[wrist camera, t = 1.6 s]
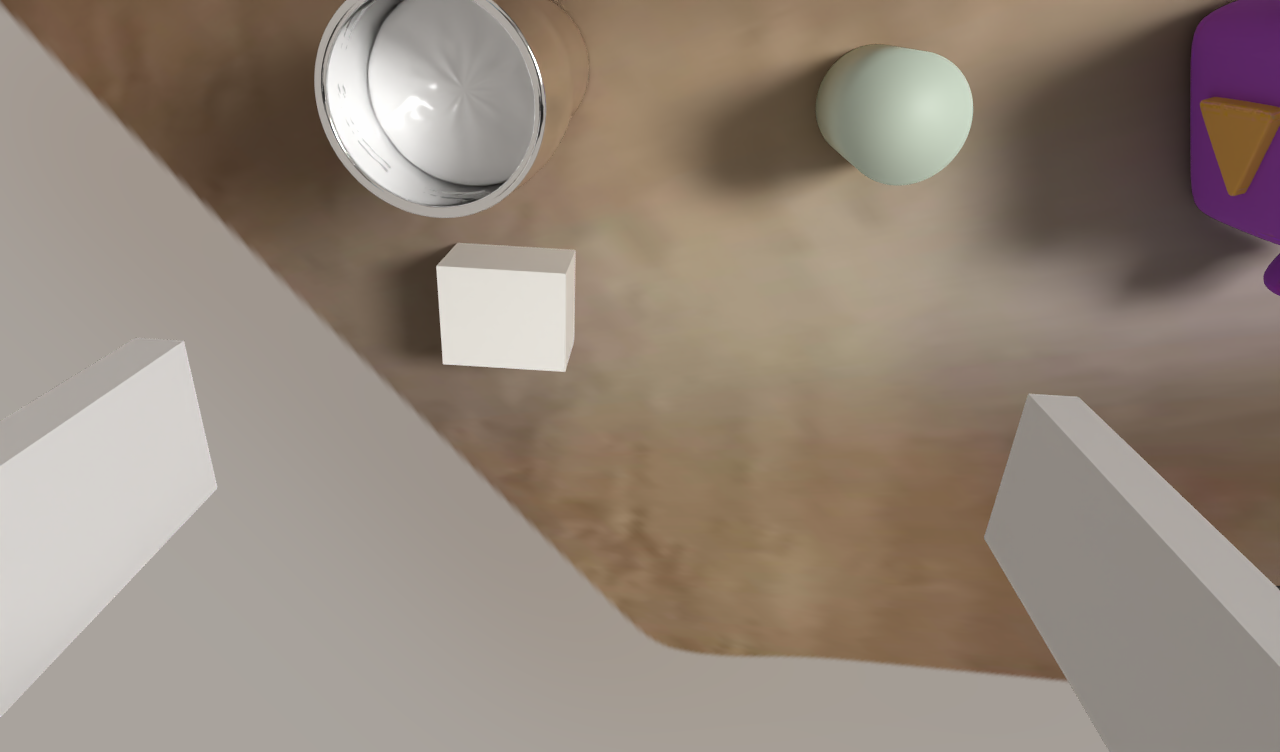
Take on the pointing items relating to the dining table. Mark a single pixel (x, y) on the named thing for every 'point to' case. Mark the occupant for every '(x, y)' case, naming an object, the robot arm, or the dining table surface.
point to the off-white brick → (507, 306)
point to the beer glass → (448, 97)
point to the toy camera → (1238, 120)
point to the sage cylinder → (895, 112)
